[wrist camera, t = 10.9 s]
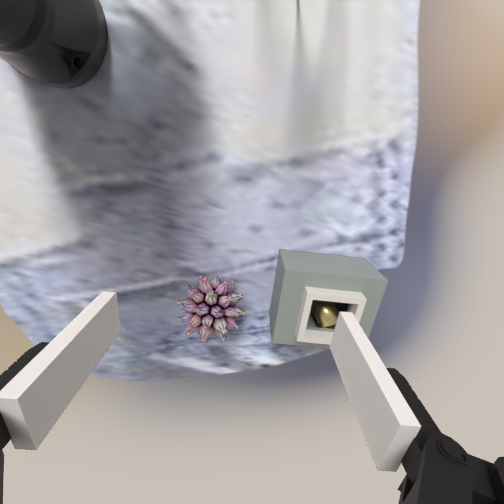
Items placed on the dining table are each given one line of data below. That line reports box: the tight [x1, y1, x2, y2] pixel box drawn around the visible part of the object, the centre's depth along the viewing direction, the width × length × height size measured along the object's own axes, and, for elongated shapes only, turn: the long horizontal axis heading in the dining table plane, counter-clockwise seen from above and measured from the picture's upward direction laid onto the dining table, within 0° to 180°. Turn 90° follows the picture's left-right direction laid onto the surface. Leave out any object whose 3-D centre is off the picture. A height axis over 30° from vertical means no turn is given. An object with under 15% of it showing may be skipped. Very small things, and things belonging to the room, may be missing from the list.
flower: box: [177, 274, 245, 343], centre depth 44 cm, size 12×12×12 cm
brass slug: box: [311, 300, 339, 329], centre depth 45 cm, size 4×4×6 cm
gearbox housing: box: [269, 249, 388, 348], centre depth 44 cm, size 16×14×11 cm
